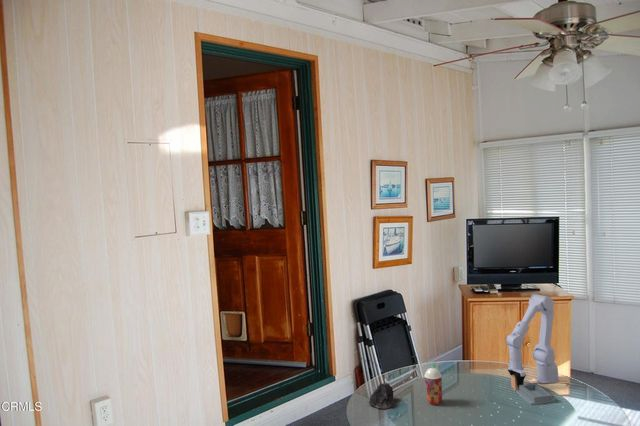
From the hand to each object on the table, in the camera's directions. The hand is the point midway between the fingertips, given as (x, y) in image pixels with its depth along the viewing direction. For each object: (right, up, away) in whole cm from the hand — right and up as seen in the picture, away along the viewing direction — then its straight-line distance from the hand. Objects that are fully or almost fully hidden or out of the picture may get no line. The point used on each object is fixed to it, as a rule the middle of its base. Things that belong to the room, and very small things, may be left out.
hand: (517, 385), depth 259 cm
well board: (+4, -2, -12) cm, 12 cm away
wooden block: (0, -1, 0) cm, 1 cm away
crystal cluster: (-68, -8, -3) cm, 69 cm away
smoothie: (-43, -6, -8) cm, 44 cm away
